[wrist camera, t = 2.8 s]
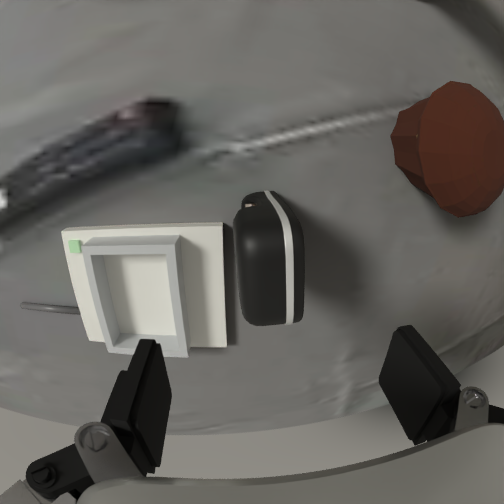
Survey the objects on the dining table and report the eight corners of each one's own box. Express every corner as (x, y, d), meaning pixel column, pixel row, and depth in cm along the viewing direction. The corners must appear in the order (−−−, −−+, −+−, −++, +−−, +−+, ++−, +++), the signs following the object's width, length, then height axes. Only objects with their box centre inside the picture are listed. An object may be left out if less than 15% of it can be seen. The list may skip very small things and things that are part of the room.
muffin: (454, 206, 27) (517, 234, 17) (374, 194, 26) (435, 224, 17) (464, 104, 22) (530, 105, 13) (383, 75, 22) (448, 54, 12)
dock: (222, 222, 26) (220, 235, 23) (226, 340, 31) (226, 362, 27) (3, 232, 25) (-16, 243, 21) (30, 326, 29) (17, 342, 26)
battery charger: (232, 190, 25) (229, 228, 15) (275, 187, 25) (306, 222, 15) (238, 264, 28) (241, 341, 17) (278, 261, 28) (304, 335, 17)
